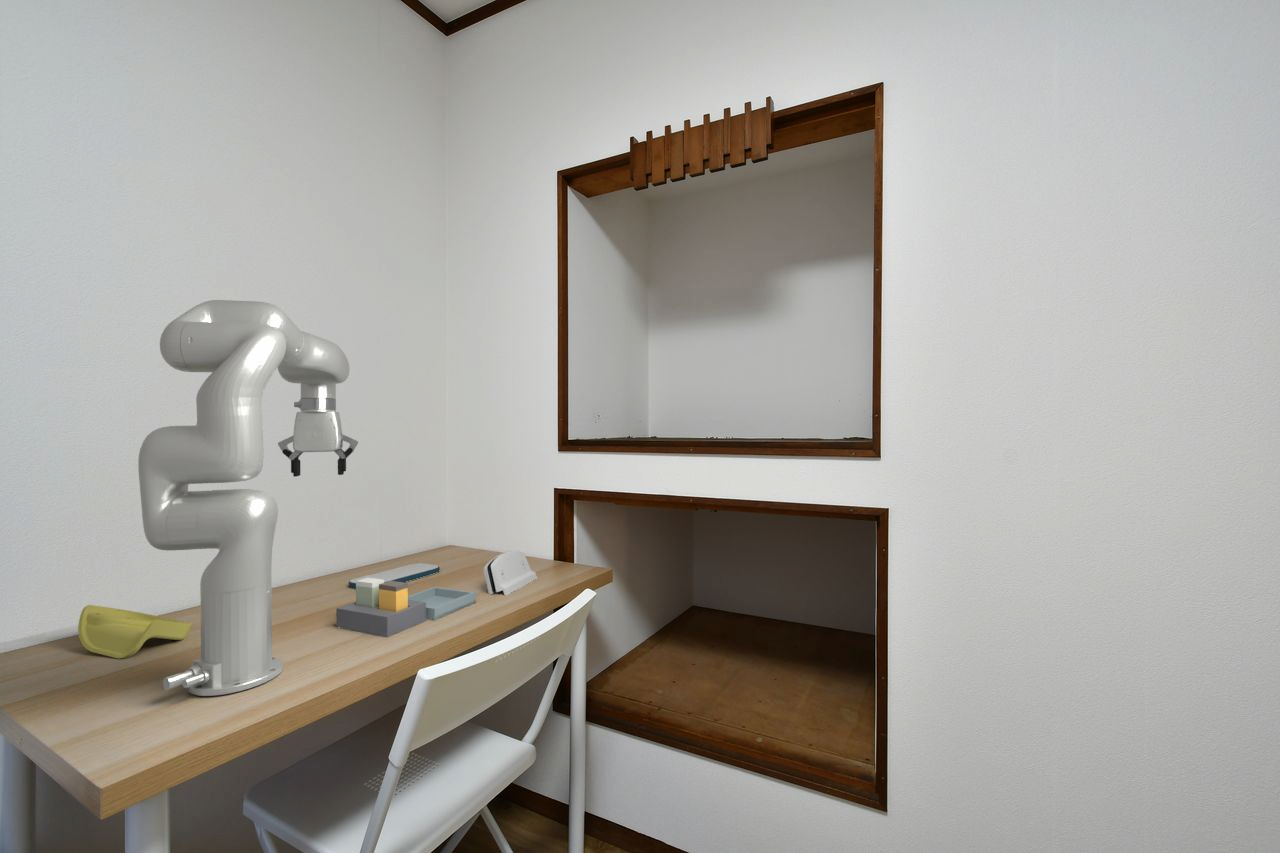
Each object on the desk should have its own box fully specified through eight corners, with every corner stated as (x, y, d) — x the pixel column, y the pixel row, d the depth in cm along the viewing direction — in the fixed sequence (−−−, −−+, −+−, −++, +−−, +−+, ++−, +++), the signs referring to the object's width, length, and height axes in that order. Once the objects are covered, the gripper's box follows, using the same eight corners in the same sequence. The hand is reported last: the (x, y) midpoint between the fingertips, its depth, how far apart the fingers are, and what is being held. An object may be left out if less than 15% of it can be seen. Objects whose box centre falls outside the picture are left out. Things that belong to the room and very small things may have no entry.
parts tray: (434, 620, 117) (434, 608, 117) (391, 613, 122) (391, 601, 122) (475, 602, 128) (475, 592, 128) (434, 596, 134) (434, 586, 134)
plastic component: (198, 625, 110) (148, 618, 101) (179, 663, 107) (126, 660, 98) (130, 610, 115) (78, 603, 106) (110, 647, 112) (55, 642, 103)
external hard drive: (369, 594, 138) (369, 586, 138) (343, 588, 144) (343, 581, 144) (444, 573, 159) (444, 566, 159) (418, 568, 165) (418, 562, 165)
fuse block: (387, 637, 107) (387, 592, 107) (336, 627, 113) (336, 584, 113) (426, 620, 116) (425, 579, 116) (377, 612, 122) (376, 573, 123)
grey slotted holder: (505, 595, 134) (493, 557, 135) (490, 600, 135) (478, 562, 136) (538, 578, 150) (527, 544, 151) (524, 583, 151) (513, 549, 152)
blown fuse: (396, 630, 111) (396, 586, 111) (379, 627, 113) (378, 584, 113) (408, 625, 114) (407, 583, 114) (391, 622, 116) (390, 580, 116)
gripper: (272, 405, 127) (273, 477, 127) (354, 405, 132) (354, 475, 132) (283, 407, 134) (284, 475, 134) (360, 407, 139) (360, 473, 139)
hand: (319, 475), depth 133 cm, fingers open, 9 cm apart
